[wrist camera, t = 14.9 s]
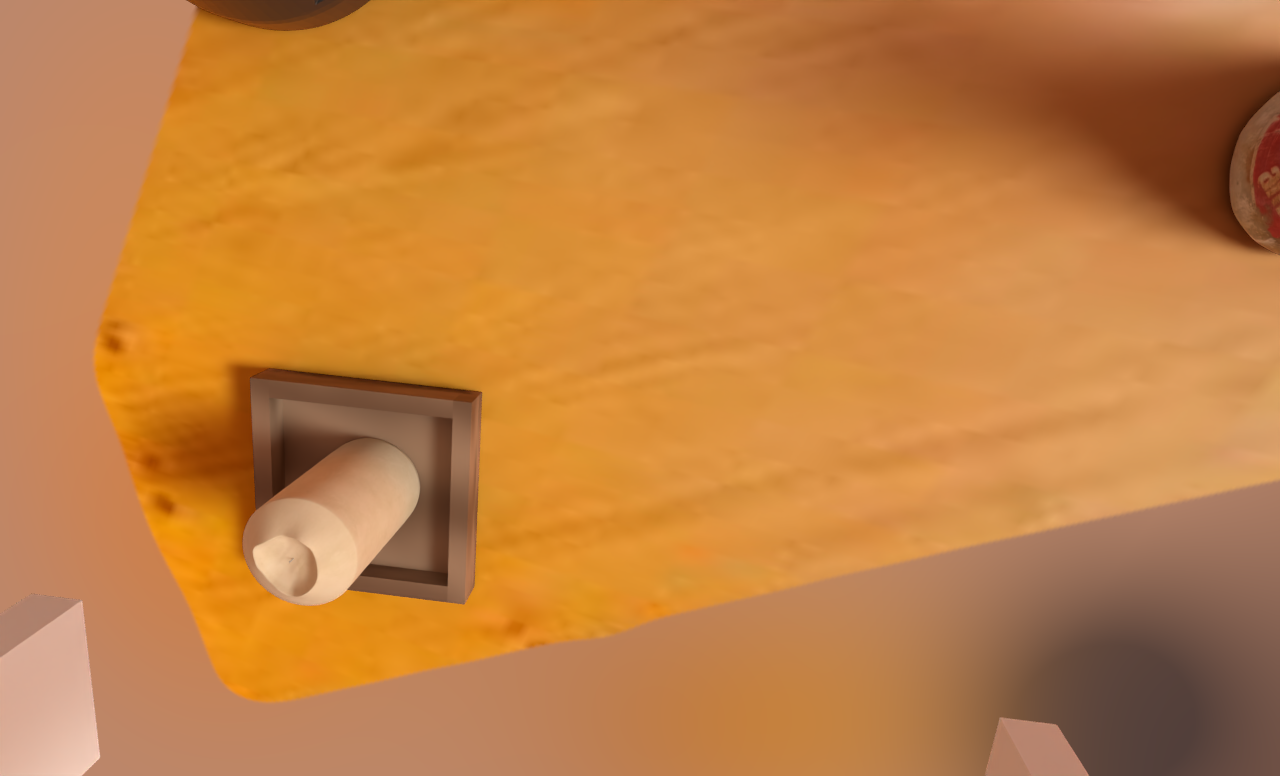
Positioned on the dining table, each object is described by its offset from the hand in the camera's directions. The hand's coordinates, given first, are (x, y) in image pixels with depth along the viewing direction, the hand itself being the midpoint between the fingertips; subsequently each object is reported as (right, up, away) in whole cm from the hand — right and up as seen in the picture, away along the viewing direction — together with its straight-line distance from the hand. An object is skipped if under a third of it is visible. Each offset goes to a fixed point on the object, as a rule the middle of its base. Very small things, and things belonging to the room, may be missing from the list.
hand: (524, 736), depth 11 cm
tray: (-14, 0, +34) cm, 37 cm away
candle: (-13, 0, +34) cm, 36 cm away
